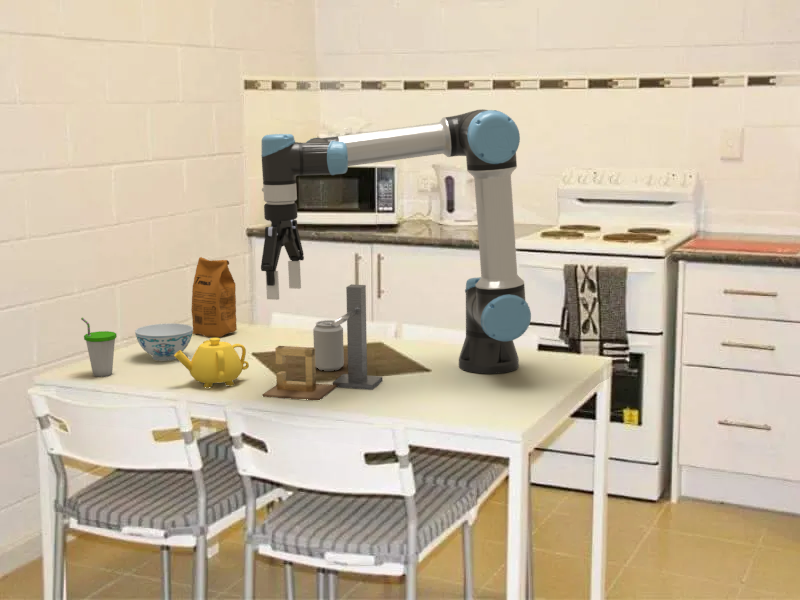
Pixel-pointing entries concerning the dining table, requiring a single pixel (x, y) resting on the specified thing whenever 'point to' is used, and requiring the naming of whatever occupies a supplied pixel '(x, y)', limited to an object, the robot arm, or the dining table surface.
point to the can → (328, 346)
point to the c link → (309, 364)
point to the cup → (100, 351)
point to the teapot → (215, 362)
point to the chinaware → (164, 339)
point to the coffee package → (213, 299)
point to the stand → (356, 342)
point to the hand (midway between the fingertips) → (284, 293)
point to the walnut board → (301, 392)
